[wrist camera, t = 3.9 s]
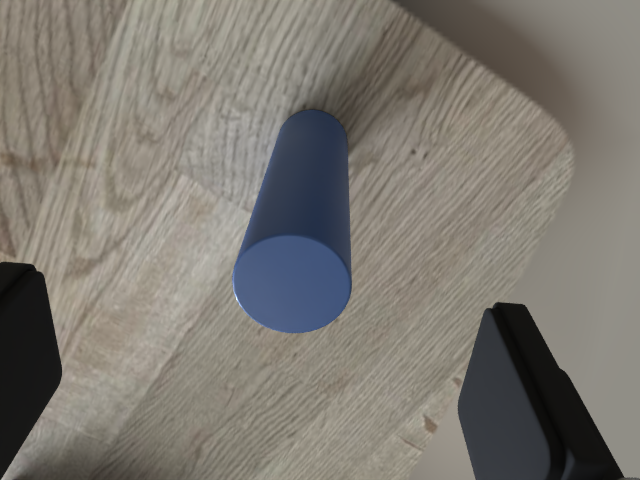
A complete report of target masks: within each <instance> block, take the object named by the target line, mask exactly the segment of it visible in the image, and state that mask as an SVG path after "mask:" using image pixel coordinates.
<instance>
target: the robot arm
mask: <svg viewBox="0 0 640 480" xmlns="http://www.w3.org/2000/svg"><path fill="white" fill-rule="evenodd" d="M61 377H62V365H61V360H60V355H59V350H58V345H57V340H56V335H55V329H54V324H53V319H52V314H51V309H50V304H49V298H48V293H47V288H46V283H45V278H44V275H43V274H42V272H39V271H36V268H35V267H34V265H32V264H25V263H13V262H1V263H0V480H1V478H2V477H3V475H4V474H5V472H6V470H7V469H8V467H9V465H10V464H11V462H12V461H13V459H14V457H15V456H16V454H17V453H18V451H19V449H20V448H21V446H22V444H23V443H24V441H25V440H26V438H27V436H28V435H29V433H30V431H31V430H32V428H33V427H34V425H35V423H36V422H37V420H38V418H39V417H40V415H41V414H42V412H43V410H44V409H45V407H46V405H47V404H48V402H49V401H50V399H51V397H52V396H53V394H54V393H55V391H56V389H57V388H58V386H59V384H60V381H61ZM458 415H459V419H460V423H461V427H462V430H463V434H464V438H465V442H466V445H467V449H468V452H469V456H470V460H471V463H472V467H473V471H474V475H475V478H476V480H640V479H639V478H624V476H623V474H622V472H621V470H620V468H619V467H618V465H617V463H616V461H615V459H614V458H613V456H612V454H611V452H610V450H609V449H608V447H607V445H606V443H605V441H604V440H603V438H602V436H601V434H600V432H599V430H598V429H597V427H596V425H595V424H594V422H593V420H592V418H591V416H590V414H589V412H588V410H587V409H586V407H585V405H584V404H583V401H582V400H581V398H580V396H579V394H578V392H577V390H576V389H575V387H574V385H573V383H572V382H571V380H570V378H569V377H568V375H567V374H566V372H565V371H563V370H562V369H560V368H559V366H558V365H557V363H556V361H555V359H554V357H553V355H552V353H551V352H550V350H549V348H548V346H547V344H546V343H545V341H544V339H543V337H542V335H541V333H540V331H539V329H538V328H537V326H536V324H535V322H534V320H533V318H532V316H531V315H530V313H529V311H528V309H527V307H526V306H525V305H523V304H513V303H502V302H497V303H495V304H494V306H493V308H487V309H486V310H485V311H484V314H483V317H482V320H481V324H480V327H479V331H478V334H477V338H476V341H475V344H474V348H473V351H472V355H471V358H470V362H469V365H468V369H467V372H466V375H465V379H464V382H463V386H462V389H461V393H460V396H459V400H458Z"/></svg>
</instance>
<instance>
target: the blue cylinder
mask: <svg viewBox="0 0 640 480" xmlns="http://www.w3.org/2000/svg"><path fill="white" fill-rule="evenodd" d="M232 284H233V290H234V294H235V296H236V299H237V301H238V303H239V304H240V306H241V307H242V309H243V310H244V311H245V312H246V313H247V314H248V315H249V316H250V317H251V318H252V319H253V320H255V321H256V322H258V323H259V324H261V325H263V326H265V327H267V328H270V329H272V330H276V331H280V332H286V333H304V332H310V331H313V330H317V329H319V328H322V327H324V326H326V325H327V324H329V323H331V322H332V321H333V320H335V319H336V318H337V317H338V316H339V315H340V314H341V312H342V311H343V310H344V309H345V307H346V305H347V303H348V301H349V298H350V295H351V289H352V274H351V241H350V209H349V176H348V144H347V136H346V133H345V130H344V129H343V127H342V125H341V124H340V123H339V122H338V120H337V119H335V118H334V117H333V116H331V115H330V114H328V113H326V112H323V111H319V110H305V111H301V112H298V113H296V114H294V115H292V116H291V117H290V118H289V119H288V120H287V121H286V122H285V123H284V124H283V126H282V127H281V129H280V132H279V135H278V138H277V141H276V144H275V147H274V150H273V153H272V156H271V159H270V162H269V165H268V168H267V171H266V174H265V177H264V180H263V183H262V186H261V189H260V192H259V194H258V197H257V200H256V203H255V206H254V209H253V212H252V215H251V218H250V221H249V224H248V227H247V230H246V233H245V236H244V239H243V242H242V245H241V248H240V251H239V254H238V257H237V260H236V263H235V266H234V270H233V276H232Z"/></svg>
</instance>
